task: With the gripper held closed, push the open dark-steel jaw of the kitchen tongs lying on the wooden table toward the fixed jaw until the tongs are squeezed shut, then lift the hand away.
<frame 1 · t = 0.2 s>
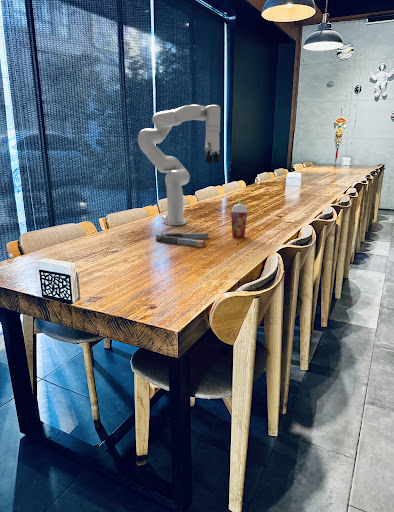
hand: (212, 162, 207), 36 cm above the table, tool pointing down, fingers open, 9 cm apart
smoothie: (238, 237, 195), on the table
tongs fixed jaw: (160, 240, 186), on the table
tongs moving jaw: (182, 236, 188), point 2 cm above the table, hinge at 35.0°
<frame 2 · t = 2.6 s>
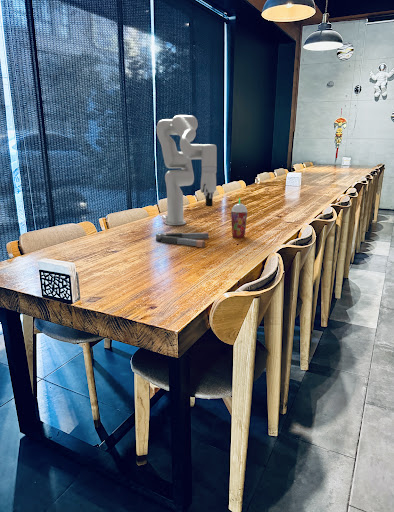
hand: (209, 206, 194), 15 cm above the table, tool pointing down, fingers closed
nothing on the table moved.
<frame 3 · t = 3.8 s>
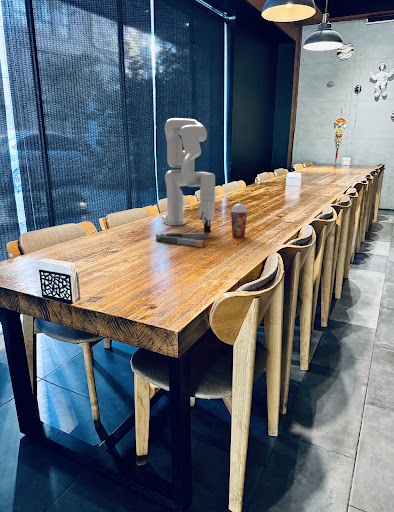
hand: (207, 232, 197), 1 cm above the table, tool pointing down, fingers closed
nothing on the table moved.
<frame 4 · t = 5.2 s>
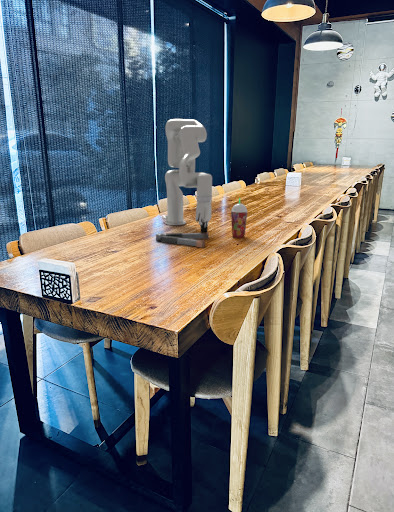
hand: (204, 234, 194), 1 cm above the table, tool pointing down, fingers closed
tongs moving jaw: (182, 236, 188), point 2 cm above the table, hinge at 34.0°
everything else where it was.
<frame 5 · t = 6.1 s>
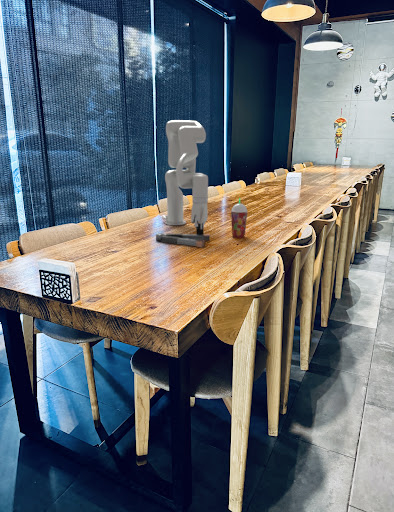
hand: (199, 236, 190), 1 cm above the table, tool pointing down, fingers closed
tongs moving jaw: (182, 237, 186), point 2 cm above the table, hinge at 23.9°, touching gripper
everything else where it was.
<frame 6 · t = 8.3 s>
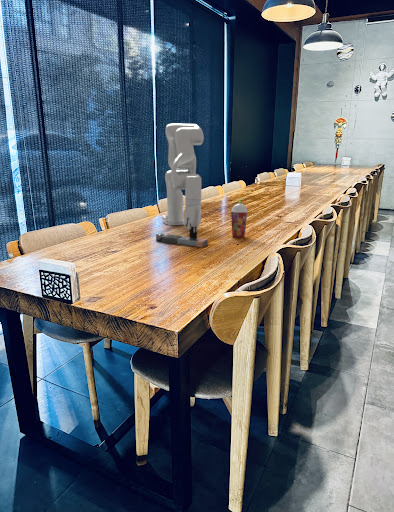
hand: (193, 239, 183), 1 cm above the table, tool pointing down, fingers closed
tongs moving jaw: (180, 239, 182), point 2 cm above the table, hinge at -1.2°, touching gripper
everything else where it was.
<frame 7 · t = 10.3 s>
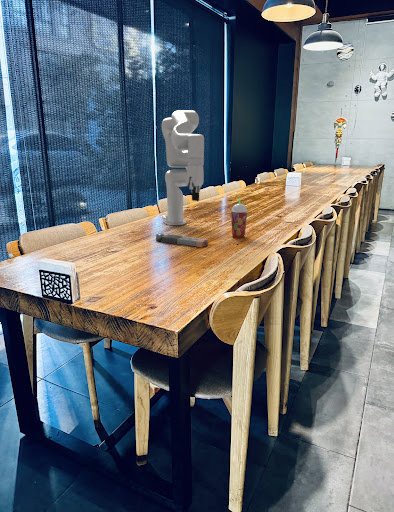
hand: (195, 200, 183), 20 cm above the table, tool pointing down, fingers closed
tongs moving jaw: (180, 239, 182), point 2 cm above the table, hinge at -0.6°
everything else where it was.
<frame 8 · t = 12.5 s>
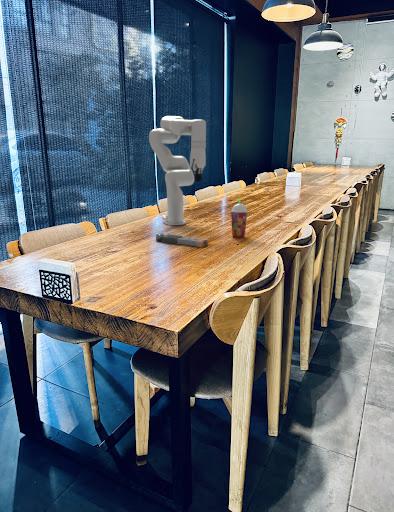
hand: (198, 181, 199), 27 cm above the table, tool pointing down, fingers closed
nothing on the table moved.
at the end: tongs moving jaw at -1° (first picture: +35°); smoothie moved 0.2 cm from its start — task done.
